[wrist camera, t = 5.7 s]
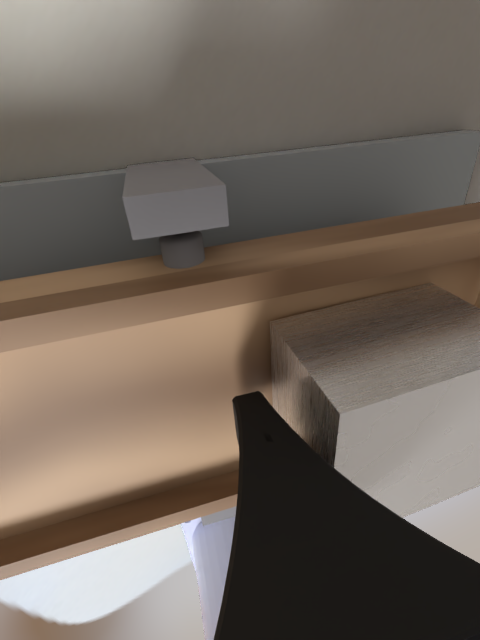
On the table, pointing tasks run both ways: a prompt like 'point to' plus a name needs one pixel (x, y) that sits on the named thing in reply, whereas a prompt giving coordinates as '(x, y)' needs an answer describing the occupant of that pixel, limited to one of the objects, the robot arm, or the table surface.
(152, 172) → the pivot stand
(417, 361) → the block
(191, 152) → the table surface
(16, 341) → the beam
